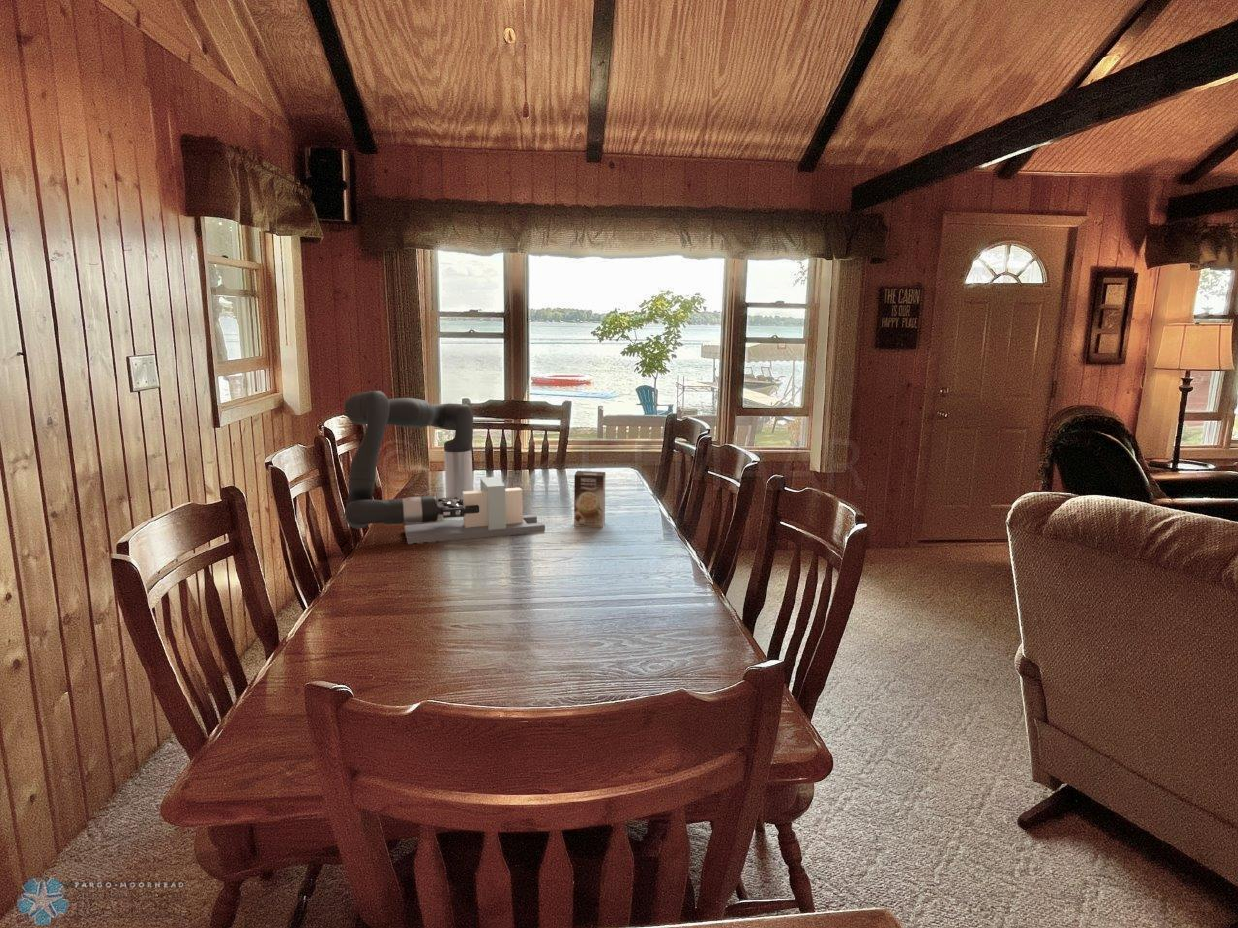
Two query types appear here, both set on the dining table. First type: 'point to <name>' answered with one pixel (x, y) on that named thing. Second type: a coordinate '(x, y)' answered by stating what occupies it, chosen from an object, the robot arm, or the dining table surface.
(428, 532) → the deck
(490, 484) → the tunnel
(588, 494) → the coffee box
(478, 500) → the block
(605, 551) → the dining table surface
